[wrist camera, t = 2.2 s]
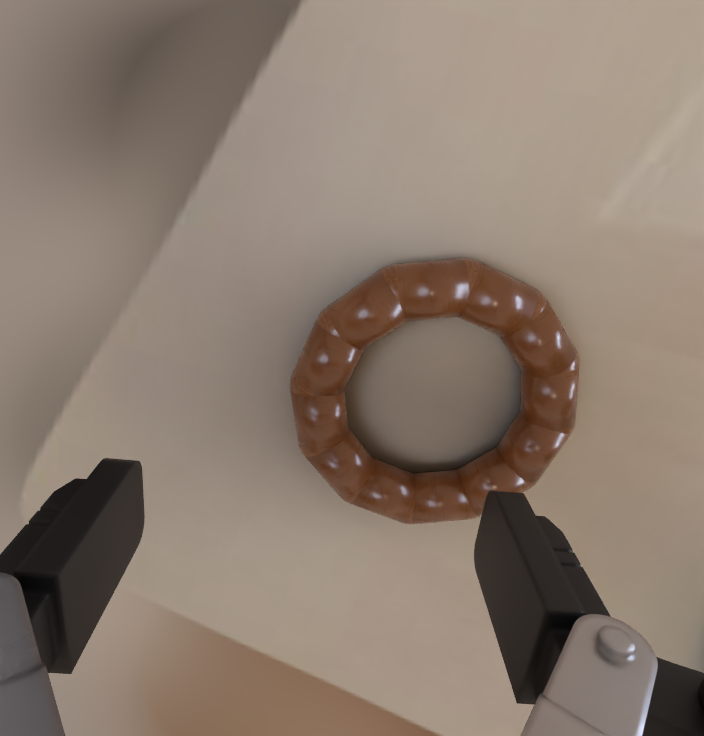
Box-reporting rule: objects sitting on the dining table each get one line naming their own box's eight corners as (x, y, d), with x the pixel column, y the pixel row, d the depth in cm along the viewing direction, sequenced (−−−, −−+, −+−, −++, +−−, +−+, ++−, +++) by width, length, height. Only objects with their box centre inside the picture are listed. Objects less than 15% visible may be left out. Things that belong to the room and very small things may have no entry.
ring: (256, 449, 20) (247, 476, 18) (365, 205, 17) (368, 211, 15) (479, 533, 22) (491, 566, 20) (619, 326, 18) (646, 344, 17)
